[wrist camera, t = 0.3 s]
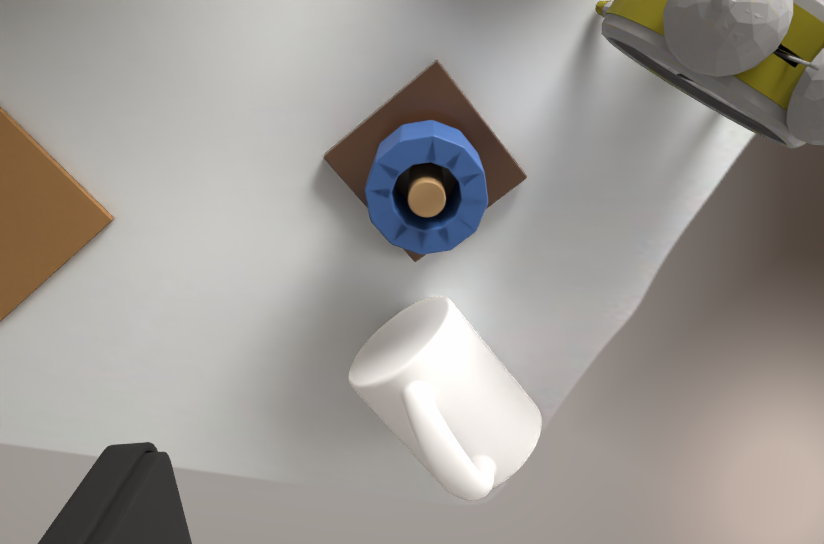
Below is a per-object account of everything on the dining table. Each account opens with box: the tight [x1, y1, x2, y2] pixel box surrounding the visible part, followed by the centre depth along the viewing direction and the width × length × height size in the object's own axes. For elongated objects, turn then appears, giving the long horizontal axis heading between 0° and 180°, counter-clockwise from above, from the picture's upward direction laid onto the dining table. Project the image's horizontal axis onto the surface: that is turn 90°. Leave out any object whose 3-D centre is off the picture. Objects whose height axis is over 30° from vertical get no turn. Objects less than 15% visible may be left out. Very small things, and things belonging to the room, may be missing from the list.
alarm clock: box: [596, 0, 824, 148], centre depth 34 cm, size 12×7×15 cm, turn 60°
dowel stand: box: [324, 60, 527, 262], centre depth 40 cm, size 9×9×8 cm
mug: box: [349, 296, 542, 500], centre depth 44 cm, size 8×10×12 cm
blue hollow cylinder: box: [365, 120, 488, 255], centre depth 39 cm, size 6×6×4 cm
